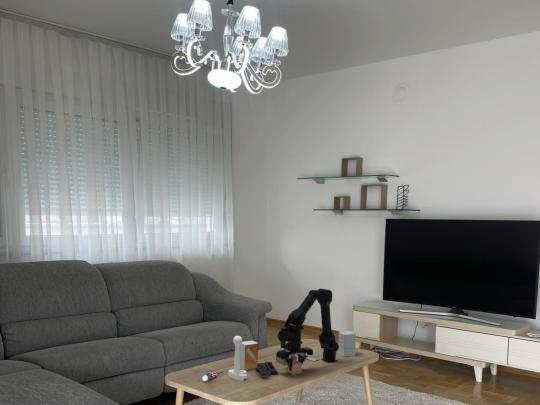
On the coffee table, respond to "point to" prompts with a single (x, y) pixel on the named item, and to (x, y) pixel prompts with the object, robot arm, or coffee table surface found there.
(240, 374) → the joystick
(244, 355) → the small box
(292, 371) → the terracotta cube
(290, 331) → the robot arm
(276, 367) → the coffee table surface
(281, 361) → the walnut base block
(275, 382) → the coffee table surface
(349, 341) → the supplement box
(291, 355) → the sage top block
